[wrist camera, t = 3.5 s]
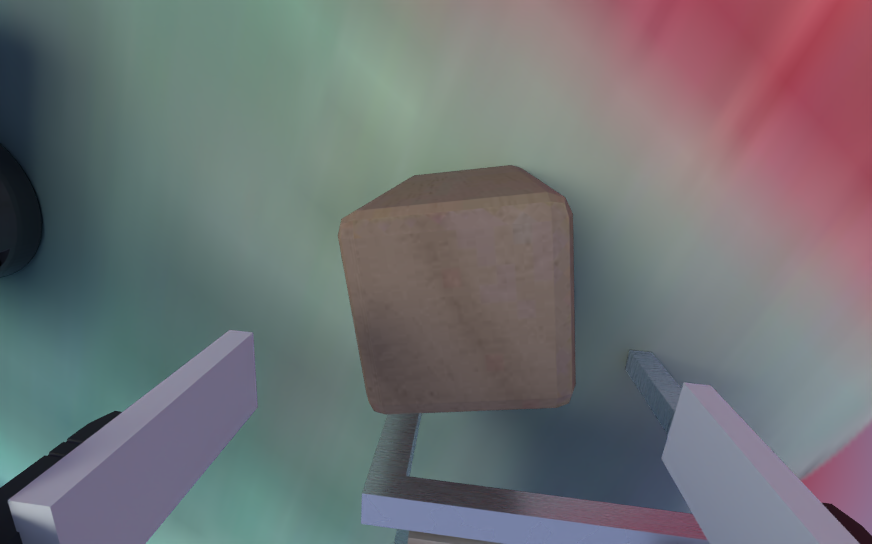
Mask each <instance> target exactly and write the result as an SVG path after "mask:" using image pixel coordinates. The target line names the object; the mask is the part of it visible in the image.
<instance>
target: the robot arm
mask: <svg viewBox="0 0 872 544" xmlns="http://www.w3.org/2000/svg"><path fill="white" fill-rule="evenodd" d="M40 238H41V214H40V208H39V204H38V201H37V198H36V195H35V192H34V190H33V188H32V186H31V184H30V182H29V180H28V178H27V176H26V175H25V173H24V171H23V170H22V168H21V167H20V166H19V164H18V163H17V162H16V161H15V159H14V158H13V157H12V156H11V155H10V154H9V153H8V152H7V151H6V150H5V149H4V148H3V147H2V146H1V145H0V277H2V276H5V275H9V274H12V273H14V272H16V271H18V270H20V269H22V268H23V267H24V266H25V265H26V264H28V263H29V261H30V260H31V259H32V258H33V256H34V254H35V253H36V251H37V248H38V245H39V242H40ZM257 407H258V404H257V388H256V372H255V356H254V339H253V332H244V331H235V330H229V331H228V332H226V333H225V334H224V335H222V336H221V337H220V338H218V339H217V340H216V341H215V342H213V343H212V344H211V345H209V346H208V347H207V348H205V349H204V350H203V351H201V352H200V353H199V354H198V355H196V356H195V357H194V358H192V359H191V360H190V361H188V362H187V363H186V364H185V365H183V366H182V367H181V368H179V369H178V370H177V371H175V372H174V373H173V374H172V375H170V376H169V377H168V378H166V379H165V380H164V381H162V382H161V383H160V384H158V385H157V386H156V387H155V388H153V389H152V390H151V391H149V392H148V393H147V394H145V395H144V396H143V397H142V398H140V399H139V400H138V401H136V402H135V403H134V404H132V405H131V406H130V407H129V408H127V409H126V410H125V411H123V412H118V411H114V412H112V413H110V414H108V415H105V416H103V417H101V418H99V419H97V420H95V421H93V422H91V423H89V424H87V425H86V426H84V427H83V428H82V429H80V430H79V431H78V432H76V433H75V434H74V435H72V436H71V437H69V438H68V439H67V442H63V443H61V444H60V445H58V446H57V447H56V448H54V449H53V450H52V451H50V452H49V455H48V456H43V457H42V458H41V459H39V460H38V461H37V462H35V463H34V464H32V465H31V466H30V467H28V468H27V469H26V470H24V471H23V472H21V473H20V474H19V475H17V476H16V477H15V478H13V479H12V480H10V481H9V482H8V483H6V484H5V485H4V486H2V487H1V488H0V544H145V543H146V542H147V541H148V540H149V539H150V537H151V536H152V535H153V534H154V532H155V531H156V530H157V529H158V528H159V526H160V525H161V524H162V523H163V522H164V520H165V519H166V518H167V517H168V515H169V514H170V513H171V512H172V511H173V509H174V508H175V507H176V506H177V505H178V503H179V502H180V501H181V500H182V498H183V497H184V496H185V495H186V494H187V492H188V491H189V490H190V489H191V488H192V486H193V485H194V484H195V483H196V481H197V480H198V479H199V478H200V477H201V475H202V474H203V473H204V472H205V471H206V469H207V468H208V467H209V466H210V464H211V463H212V462H213V461H214V460H215V458H216V457H217V456H218V455H219V454H220V452H221V451H222V450H223V449H224V447H225V446H226V445H227V444H228V443H229V441H230V440H231V439H232V438H233V437H234V435H235V434H236V433H237V432H238V430H239V429H240V428H241V427H242V426H243V424H244V423H245V422H246V421H247V420H248V418H249V417H250V416H251V415H252V413H253V412H254V411H255V410H256V409H257ZM661 459H662V461H663V463H664V464H665V466H666V468H667V470H668V471H669V473H670V475H671V477H672V478H673V480H674V482H675V484H676V485H677V487H678V489H679V491H680V492H681V494H682V496H683V498H684V499H685V501H686V503H687V505H688V506H689V508H690V510H691V512H692V513H693V515H694V517H695V519H696V520H697V522H698V524H699V526H700V527H701V529H702V531H703V533H704V534H705V536H706V538H707V540H708V541H709V543H710V544H872V536H871V535H870V534H869V533H868V532H867V531H866V530H865V529H864V527H863V526H861V525H860V524H859V523H857V522H856V521H855V520H853V519H852V518H850V517H849V516H848V515H846V514H845V513H843V512H842V511H841V510H839V509H838V508H836V507H835V506H834V505H832V504H828V503H821V502H820V501H819V500H818V499H817V498H816V497H815V496H814V495H813V493H812V492H810V490H809V489H808V488H807V487H806V486H805V485H804V484H803V483H802V482H801V481H800V480H799V479H798V478H797V476H796V475H795V474H794V473H793V472H792V471H791V470H790V469H789V468H788V467H787V466H786V465H785V464H784V463H783V462H782V461H781V459H780V458H779V457H778V456H777V455H776V454H775V453H774V452H773V451H772V450H771V449H770V448H769V447H768V446H767V445H766V444H765V443H764V441H763V440H762V439H761V438H760V437H759V436H758V435H757V434H756V433H755V432H754V431H753V430H752V429H751V428H750V427H749V426H748V424H747V423H746V422H745V421H744V420H743V419H742V418H741V417H740V416H739V415H738V414H737V413H736V412H735V411H734V410H733V409H732V407H731V406H730V405H729V404H728V403H727V402H726V401H725V400H724V399H723V398H722V397H721V396H720V395H719V394H718V393H717V392H716V390H715V389H714V388H713V387H712V386H711V385H702V384H693V383H685V382H684V383H683V387H682V390H681V394H680V397H679V400H678V404H677V407H676V411H675V414H674V417H673V421H672V424H671V427H670V431H669V434H668V438H667V441H666V444H665V448H664V451H663V455H662V458H661Z"/></svg>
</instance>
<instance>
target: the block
mask: <svg viewBox="0 0 872 544" xmlns="http://www.w3.org/2000/svg"><path fill="white" fill-rule="evenodd" d="M338 239H339V244H340V250H341V255H342V261H343V266H344V272H345V277H346V283H347V288H348V294H349V299H350V305H351V310H352V316H353V322H354V327H355V333H356V338H357V344H358V349H359V355H360V360H361V366H362V371H363V377H364V382H365V388H366V393H367V397H368V401H369V403H370V405H371V407H372V408H373V410H374V411H376V412H379V413H383V414H410V413H435V412H461V411H486V410H512V409H537V408H557V407H560V406H563V405H565V404H568V403H569V402H570V399H571V396H572V393H573V391H574V388H575V385H576V379H575V316H574V253H573V213H572V211H571V209H570V207H569V205H568V202H567V200H566V198H565V197H564V196H562V195H561V194H559V193H558V192H556V191H555V190H553V189H552V188H550V187H549V186H547V185H546V184H544V183H543V182H541V181H540V180H538V179H537V178H535V177H534V176H532V175H531V174H529V173H528V172H526V171H525V170H523V169H522V168H519V167H516V166H513V165H508V166H499V167H489V168H480V169H471V170H461V171H452V172H443V173H433V174H424V175H414V176H413V177H411V178H409V179H407V180H406V181H404V182H402V183H401V184H399V185H397V186H396V187H394V188H392V189H391V190H389V191H387V192H386V193H384V194H382V195H381V196H379V197H377V198H376V199H374V200H372V201H371V202H369V203H367V204H366V205H364V206H362V207H361V208H359V209H357V210H356V211H354V212H352V213H351V214H349V215H347V216H346V217H344V218H342V219H341V224H340V228H339V233H338Z"/></svg>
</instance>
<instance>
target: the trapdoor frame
mask: <svg viewBox="0 0 872 544" xmlns="http://www.w3.org/2000/svg"><path fill="white" fill-rule="evenodd" d="M625 370H626V371H627V373H628V374H629V376H630V377H631V379H632V380H633V382H634V384H635V385H636V387H637V388H638V390H639V391H640V393H641V394H642V396H643V398H644V399H645V401H646V402H647V404H648V405H649V407H650V408H651V410H652V411H653V413H654V415H655V416H656V418H657V419H658V421H659V422H660V424H661V425H662V427H663V429H664V430H665V432H666V433H667V435H668V434H669V431H670V427H671V424H672V421H673V417H674V414H675V411H676V407H677V404H678V400H679V397H680V394H681V390H682V389H681V387H680V386H679V385H678V384H677V382H676V381H675V380H674V379H673V378H672V376H671V375H670V374H669V373H668V371H667V370H666V369H665V368H664V367H663V365H662V364H661V363H660V362H659V361H658V359H657V358H656V357H655V356H654V354H653V353H652V352H645V351H635V350H629V354H628V359H627V363H626V367H625ZM421 416H422V413H410V414H387V417H386V421H385V424H384V427H383V430H382V433H381V436H380V439H379V442H378V445H377V449H376V452H375V455H374V458H373V461H372V464H371V467H370V470H369V473H368V477H367V480H366V483H365V486H364V489H363V492H362V513H361V524H367V525H374V526H381V527H388V528H396V529H397V532H396V536H395V541H394V544H408V535H409V530H410V531H417V532H424V533H431V534H438V535H446V536H453V537H460V538H467V539H474V540H481V541H488V542H496V543H503V544H710V543H709V541H708V540H707V538H706V536H705V534H704V533H703V531H702V529H701V527H700V526H699V524H698V522H697V520H696V519H695V517H694V515H693V514H689V513H681V512H674V511H666V510H659V509H651V508H644V507H636V506H628V505H621V504H613V503H606V502H598V501H590V500H583V499H575V498H568V497H560V496H553V495H545V494H537V493H530V492H522V491H515V490H507V489H500V488H492V487H484V486H477V485H469V484H462V483H454V482H446V481H439V480H431V479H424V478H416V477H409V476H410V471H411V466H412V461H413V456H414V451H415V446H416V441H417V436H418V431H419V426H420V421H421Z"/></svg>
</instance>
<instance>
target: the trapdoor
mask: <svg viewBox="0 0 872 544" xmlns="http://www.w3.org/2000/svg"><path fill="white" fill-rule="evenodd" d="M408 544H503V543H496V542H488V541H481V540H474V539H467V538H460V537H453V536H446V535H438V534H431V533H424V532H417V531H410V530H409V535H408Z"/></svg>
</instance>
